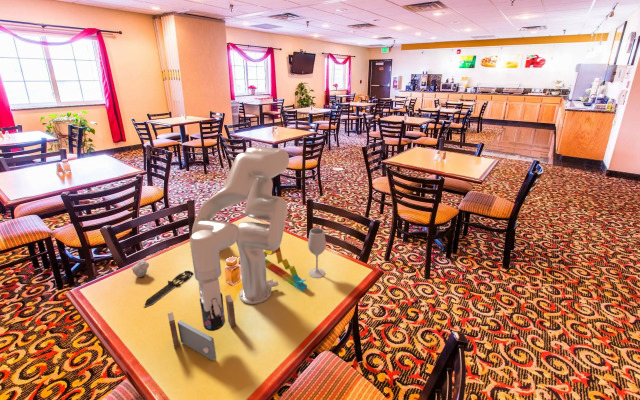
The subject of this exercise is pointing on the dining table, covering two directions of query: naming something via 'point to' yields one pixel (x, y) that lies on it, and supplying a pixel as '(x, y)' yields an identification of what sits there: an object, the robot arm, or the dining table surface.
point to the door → (197, 340)
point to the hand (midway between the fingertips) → (213, 318)
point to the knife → (167, 288)
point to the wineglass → (316, 249)
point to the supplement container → (207, 316)
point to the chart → (283, 274)
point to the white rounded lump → (140, 268)
